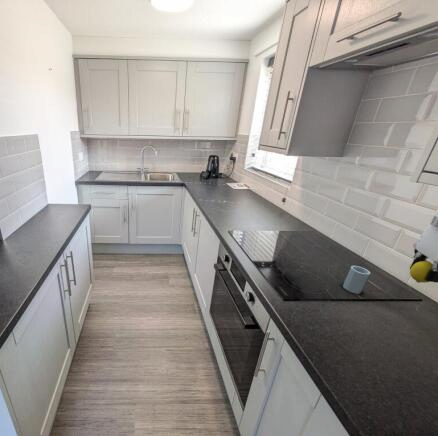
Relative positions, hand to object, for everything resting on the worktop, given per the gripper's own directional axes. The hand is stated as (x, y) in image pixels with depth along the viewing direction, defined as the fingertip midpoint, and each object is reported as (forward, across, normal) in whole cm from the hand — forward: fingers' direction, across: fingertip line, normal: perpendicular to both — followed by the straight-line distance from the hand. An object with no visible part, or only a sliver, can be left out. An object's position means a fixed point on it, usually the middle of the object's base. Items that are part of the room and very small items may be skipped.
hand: (423, 275), depth 75 cm
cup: (+15, +8, +12) cm, 21 cm away
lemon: (+3, 0, 0) cm, 3 cm away
